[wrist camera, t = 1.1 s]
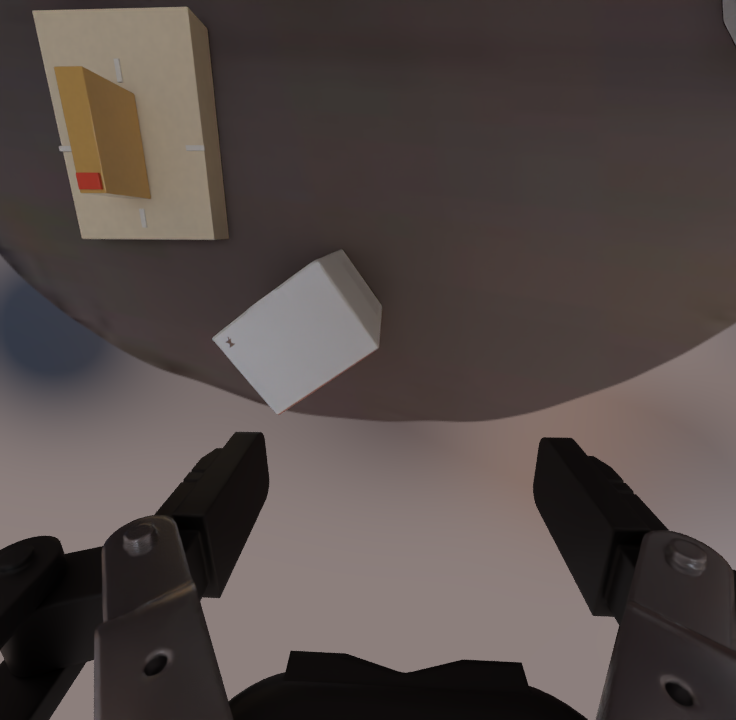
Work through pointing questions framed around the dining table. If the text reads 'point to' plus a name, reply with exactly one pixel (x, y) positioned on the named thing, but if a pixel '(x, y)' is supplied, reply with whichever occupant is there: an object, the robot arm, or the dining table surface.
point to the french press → (730, 17)
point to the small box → (304, 331)
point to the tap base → (147, 117)
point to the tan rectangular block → (103, 134)
